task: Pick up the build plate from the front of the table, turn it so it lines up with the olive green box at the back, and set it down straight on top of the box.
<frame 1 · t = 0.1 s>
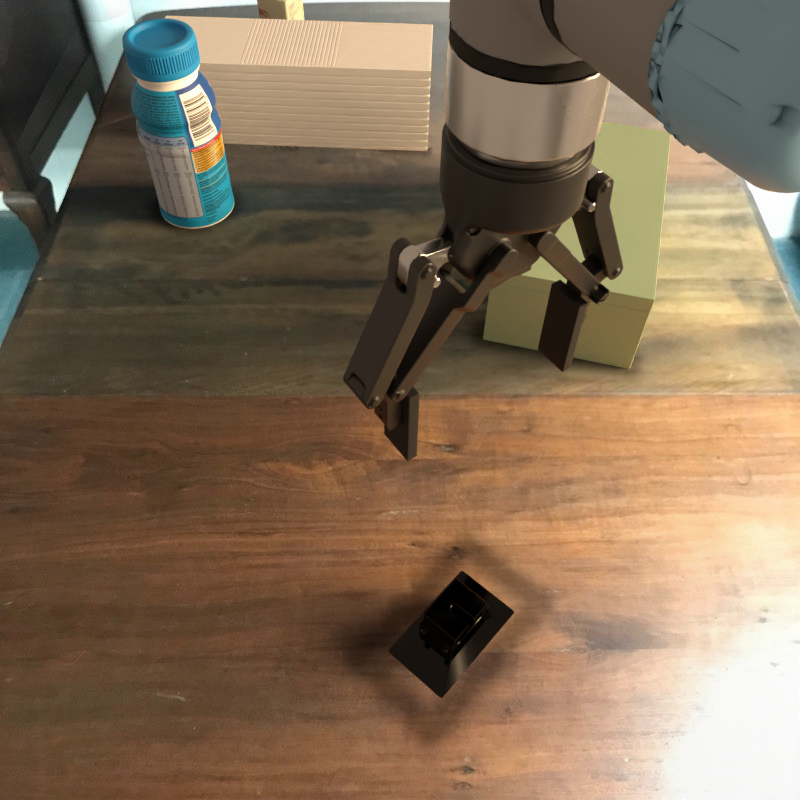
hand: (480, 400, 55), 13 cm above the table, tool pointing down, fingers open, 13 cm apart
beverage bottle: (198, 211, 89), on the table
olive green box: (571, 269, 83), on the table
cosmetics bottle: (287, 65, 109), on the table
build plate: (451, 635, 58), on the table
stack of papers: (301, 127, 99), on the table
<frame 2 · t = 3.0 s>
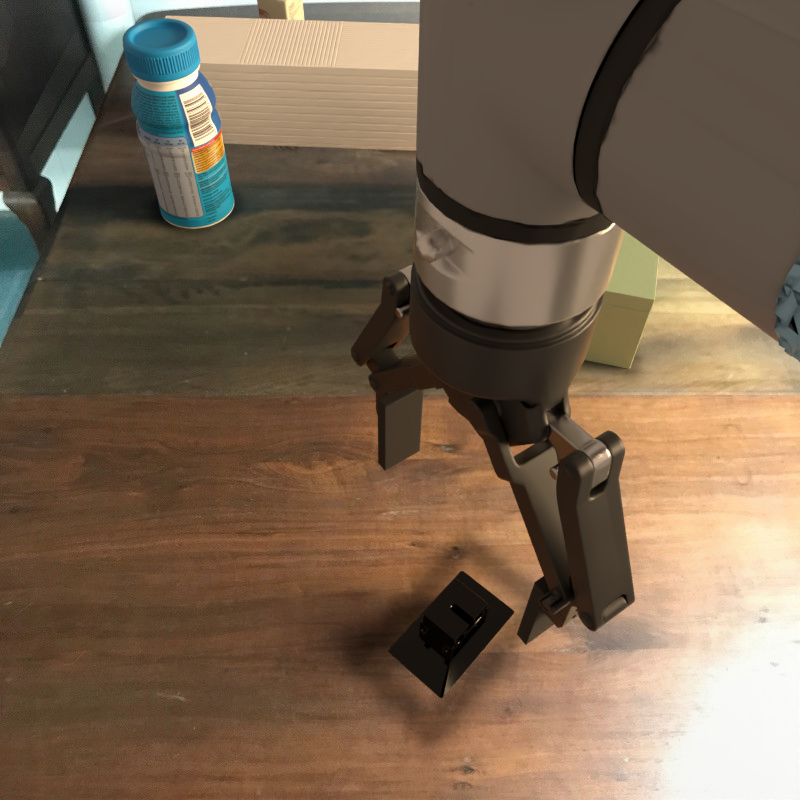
hand: (464, 535, 47), 14 cm above the table, tool pointing down, fingers open, 13 cm apart
nothing on the table moved.
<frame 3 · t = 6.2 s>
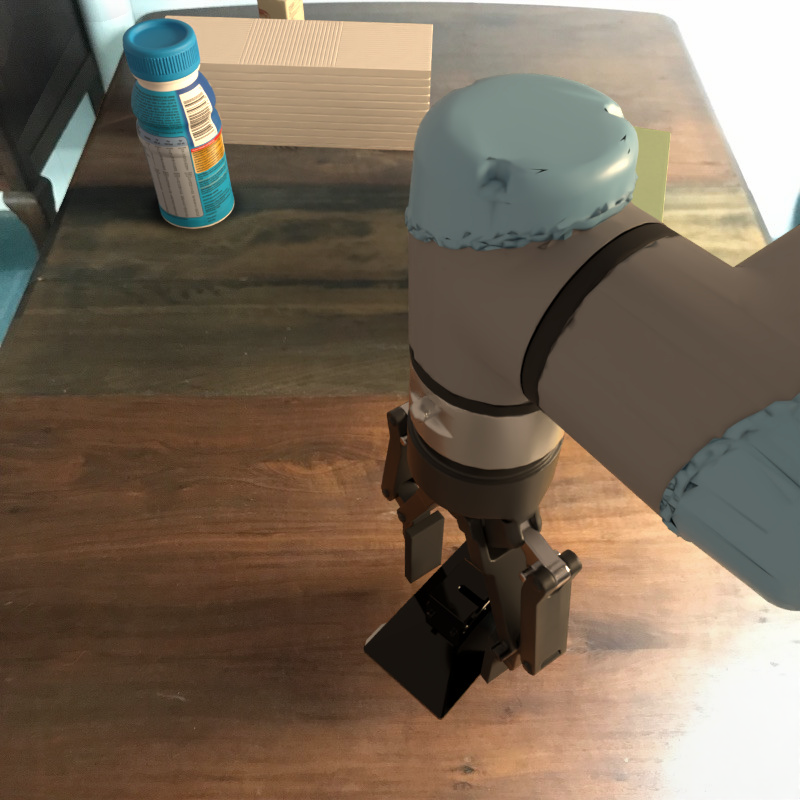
hand: (459, 616, 55), 4 cm above the table, tool pointing down, fingers closed on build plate, 8 cm apart
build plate: (459, 620, 55), point 4 cm above the table, touching gripper
everything else where it was.
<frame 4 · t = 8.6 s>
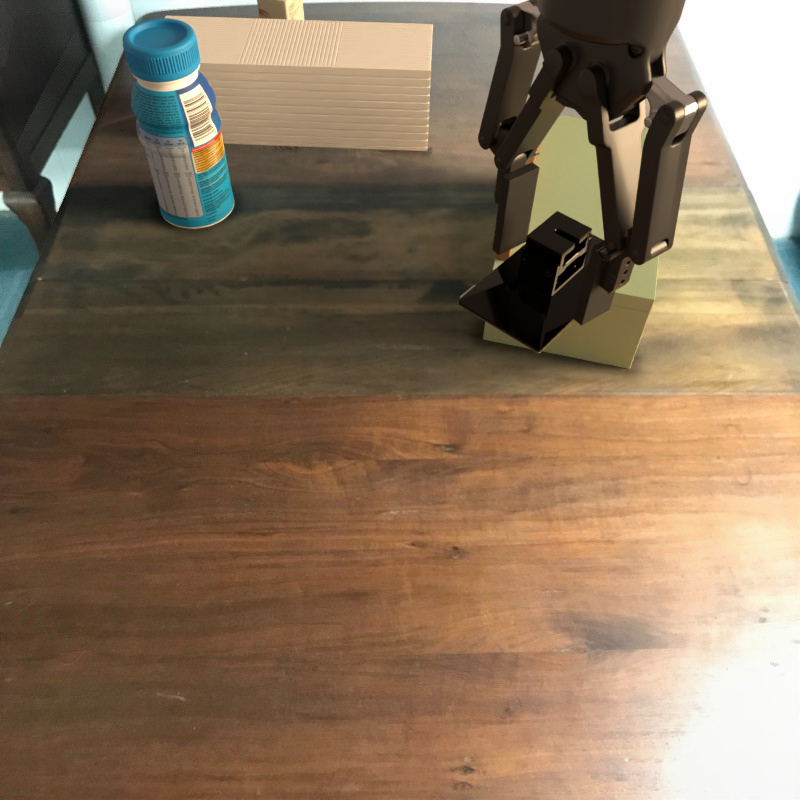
hand: (549, 278, 57), 18 cm above the table, tool pointing down, fingers closed on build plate, 8 cm apart
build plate: (548, 283, 57), point 17 cm above the table, touching gripper
everything else where it was.
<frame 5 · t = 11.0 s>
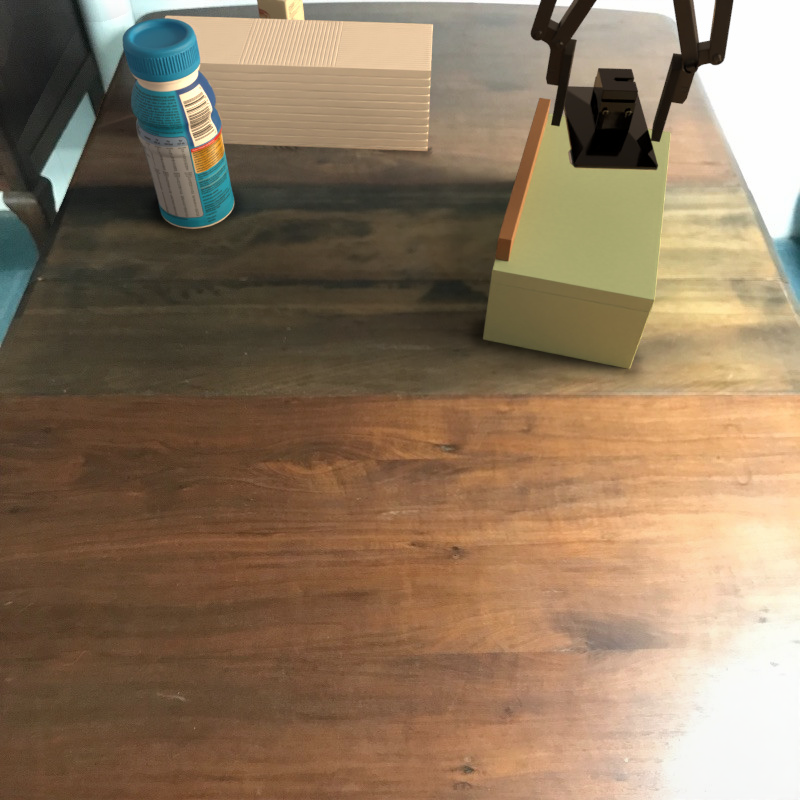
hand: (606, 125, 70), 17 cm above the table, tool pointing down, fingers closed on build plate, 8 cm apart
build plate: (605, 129, 70), point 17 cm above the table, touching gripper
everything else where it was.
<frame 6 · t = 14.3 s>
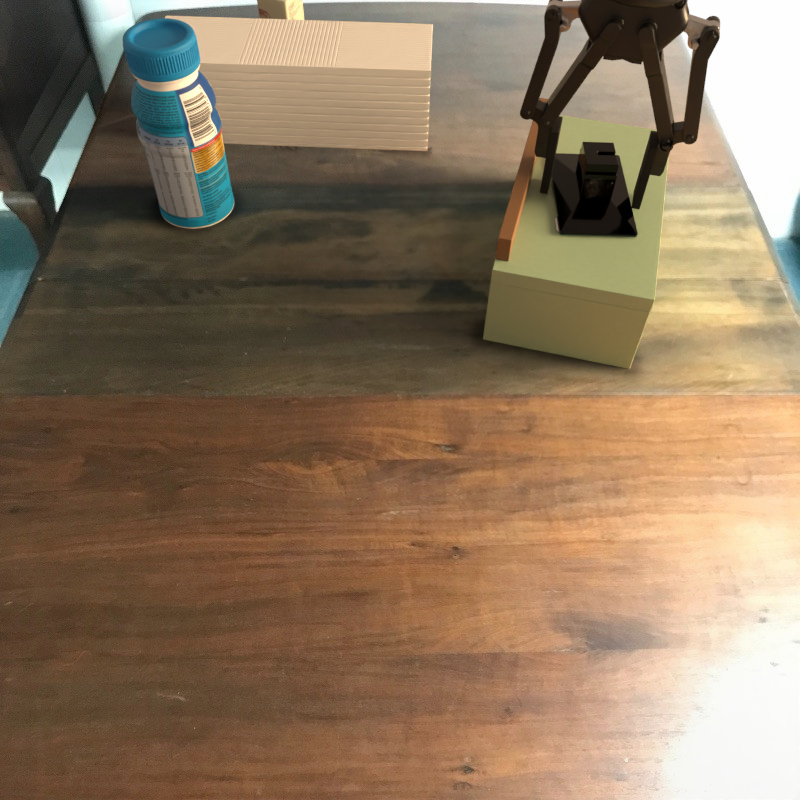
hand: (590, 192, 75), 10 cm above the table, tool pointing down, fingers closed on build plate, 8 cm apart
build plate: (590, 196, 76), point 9 cm above the table, touching gripper
everything else where it was.
when the fingers open (10 cm above the table, at t = 15.8 s): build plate stays where it is, resting on olive green box.
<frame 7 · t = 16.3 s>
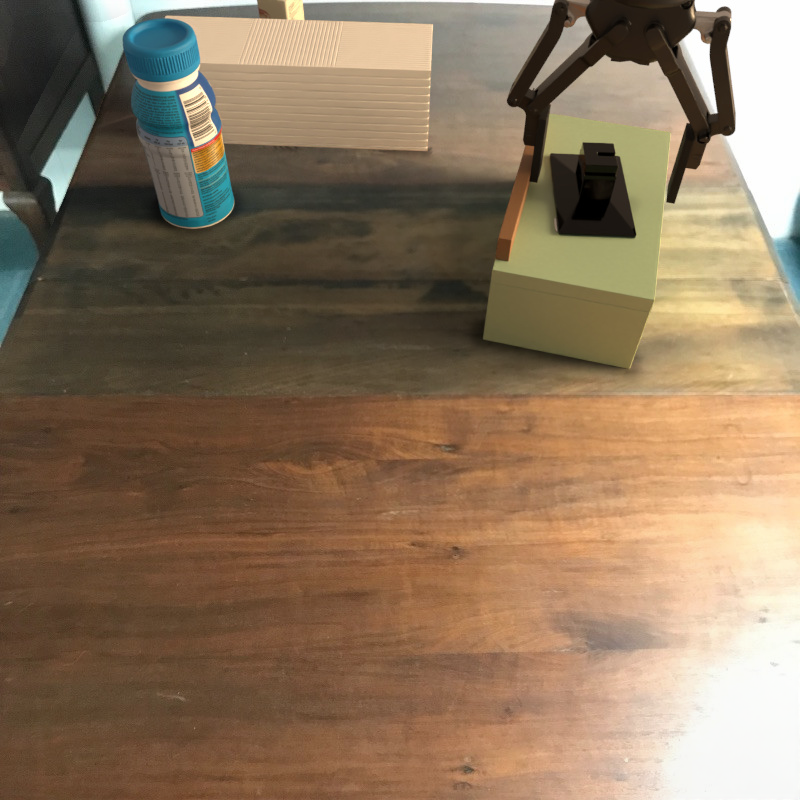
hand: (602, 184, 75), 11 cm above the table, tool pointing down, fingers open, 12 cm apart
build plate: (589, 196, 76), point 9 cm above the table, touching olive green box
everything else where it was.
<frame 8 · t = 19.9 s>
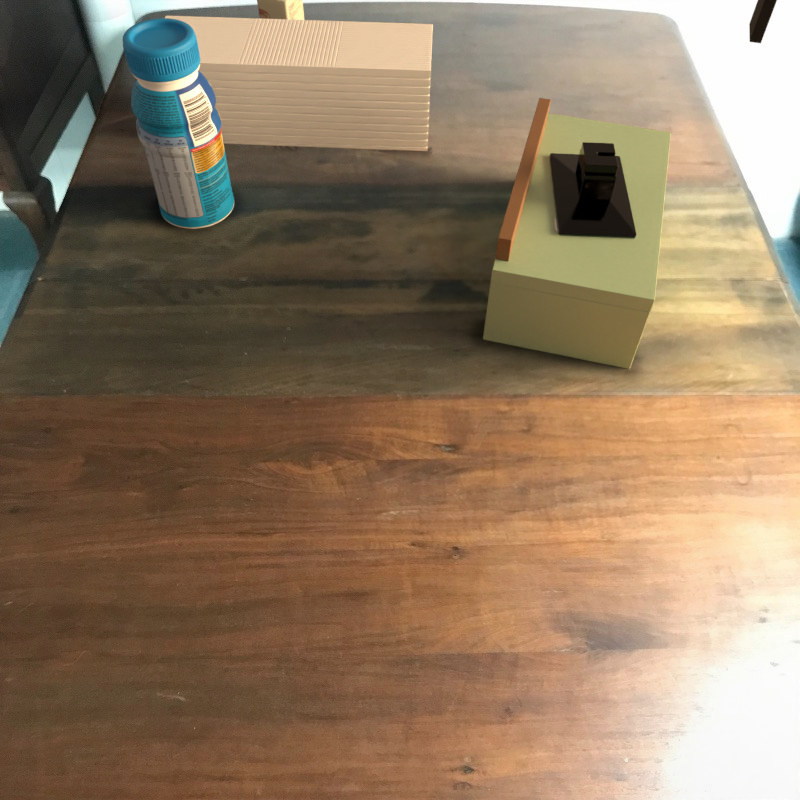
nothing on the table moved.
at the end: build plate inside the target area on the olive green box (0.1 cm from its centre), point 9.3 cm above the olive green box's base; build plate tilted 0°; the gripper is holding nothing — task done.
